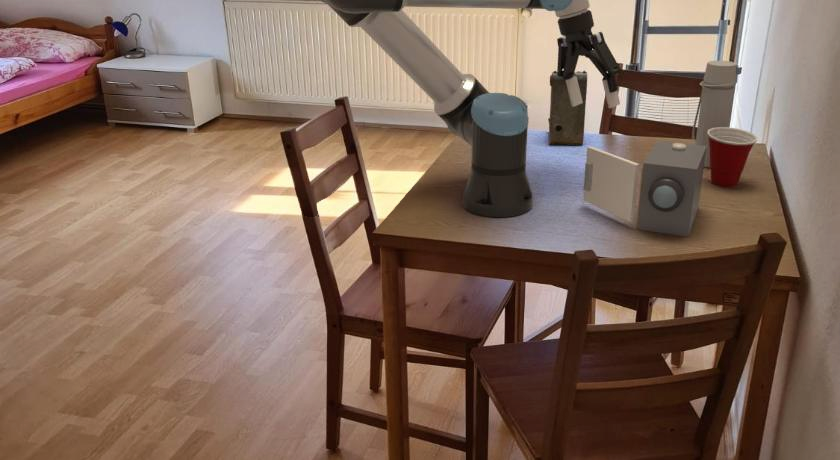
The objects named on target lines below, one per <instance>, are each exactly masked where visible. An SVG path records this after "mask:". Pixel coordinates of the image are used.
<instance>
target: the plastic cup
mask: <svg viewBox="0 0 840 460" xmlns="http://www.w3.org/2000/svg"><path fill="white" fill-rule="evenodd" d="M707 135H708V137H709V146H710V168H709V169H710V181H711V183H712V184H713V185H715V186H719V187H722V188H723V187H724V188H733V187H732V186H734V187H737V186H738V183H739V181H740V179H741V176H742V173H743V171H744V169H745V166H746V163H747V160H748V156H749V154H750V152H751V151H752V148H753V146H755V145H754V144H756V143H757V142H758V136H757V135H755V134H754V133H752V132H749V131H747V130H744V129H740V128H737V127H730V126H729V127H717V128H712V129H709V130H708V132H707Z"/></svg>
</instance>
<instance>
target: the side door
mask: <svg viewBox="0 0 840 460" xmlns="http://www.w3.org/2000/svg"><path fill="white" fill-rule="evenodd" d="M585 160H586V162H585V163H584V164H585V166H584V177H583V179H584V180H583V201H584V202H586V203H588V204H590V205H593V206H594V207H597V208H599V209H601V210H604V211H605V212H608V213H609V214H612V215H615V216H617V217H618V218H622V219H624V220H625V221H627V222H633V221H635V211H636V204H637V203H636V201H637V193H638V192H637V191H638V190H637V189H638V182H639V173H640V164H639V163H637V162H635V161H632V160H629V159H626V158H625V157H624V158H623V157H621V156H618V155H616V154H612V153H610V152H607V151H605V150H603V149H600V148H597V147H593V146H592V145H591V146H587V148H586V159H585Z"/></svg>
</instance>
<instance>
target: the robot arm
mask: <svg viewBox="0 0 840 460" xmlns="http://www.w3.org/2000/svg"><path fill="white" fill-rule="evenodd" d="M320 1H321V2H322V3H324V4H326V5H328V6H329V8H330V9H331V10H333V12H334V13H336V14H337V15H338V17H340V19H342V20H343V21H344V23H346V25H348V26H349V27H350V28H354V27H355V28H358V27H359V28H361V29H362V30H363V31H364V33H366V34H367V35H368V36H369V38H371V39H372V40H373V41H374V42H375V43H376V45H378V46H379V47H380V48H381V49H382V50H383V52H384V53H386V54H387V55H388V56H389V58H391V59H392V61H394V63H396V65H397V66H398V67H399V68H400V69H401V70H402V71H404V72H405V74H406V75H407V76H409V78H410V79H411V80H412V81H413V82H414V83H415V84H416V85H417V86H418V87H419V88H420V89H421V90H422V91H423V92H424V93H425V94H426V95H427V96H428V97H429V98H430V99H431V100H432V101H433V102H434V103H433V104H434V105H433V111H434V112H435V114H436V115H437V116H438V117H439V118H440V119H441V120H442V121H443V122H444V124H445V125H446V126H447V128H448V129H449V130H450V131H451V132H452V133H453V134H455V135H456V137H459V138H460V139H462V140H463V141H464V142H466V143H467V144H468V145H469V146H471V166H470V167H471V169H470V174H469V176H468V179H467V181H466V184H465V185H466V186H465V188H464V190H463V195H462V206H463V208H464V209H465V210H466V211H468V212H470V213H473V214H475V215H479V216H483V217H489V218H506V217H507V218H509V217H515V216H519V215H523V214H525V213H528V212H529V211H530V210H531V209H532V207H533V198H534V197H533V192H532V190H531V189H532V188H531V185H530V182H529V179H528V176H527V173H526V171H527V170H526V169H527V164H526V163H527V151H528V147H527V146H528V127H529V126H528V125H529V114H528V113H529V112H528V110H529V109H528V106H527V103H526V102H525V101H524V99H522V98H520V97H519V96H516V95H513V94H510V95H509V94H508V93H504V92H489V90H487V89H486V87H485V86H484V85H483V84H482V83H481V82H480V81H479V80H478V79H477V78H476V77H475V76H474V75H473V74H471V73H462V72H461V71H460V70H459V69H458V68H457V66H455V64H453V62H452V61H451V60H449V58H448V57H447V56H446V55H445V54H444V53H443V52H442V51H441V50H440V49H439V48H438V46H436V44H435V43H434V42H433V41H432V40H431V39H430V38H429V37H428V36H427V35H426V33H425V32H424V31H423V30H421V29H420V27H419V26H418V25H417V24H416V23H415V22H414V21H413V20H412V18H410V16H409V15H407V13H406V12H405V11H404V10H403V9H404V8H405V7H420V8H421V7H424V8H425V7H428V8H436V7H437V8H480V9H481V8H485V9H486V8H487V9H488V8H489V9H492V8H493V9H494V8H496V9H527V10H528V9H529V10H533V9H535V10H546V11H548V12H554V13H555V16H556V17H557V18H558V19H557V24H558V29H559V32H560V35H561V36H560V37H558V38H556V42H557V47H558V48H557V50H558V51H557V69H556V72H557V75H558V77H562V78H563V79H564V80H565V83H566V87H567V90H568V93H569V97H570V101H571V105H572V107H574V106H577V105H579V104H581V103H583V101H582V97H581V93H580V89H579V85H578V81H577V76H575V75H576V74H575V73H574V72H576V69H577V68H576V67H577V65H578V61H579V58H580V57H585V58H587V59H589V60H590V62H591V63H592V64H593V65H594V67H595V68H596V69H597V70H598V72H599V73H600V74H601V75H602V77H603V78H602V79H601V81H602V85H603V86H602V87H603V90H604V94H605V99H606V103H607V107H608V109H613V108H615V107H617V106H619V105H621V102H620V97H619V93H618V92H619V91H618V89H619V88H618V85H617V81H616V75H618V74H620V73H621V72H622V69H621V68H620V65H619V64H618V62H617V60H616V59H615V56H614V55H613V53H612V51H611V49H610V47H609V46H608V43H607V42H606V40H605V37H604V34H603V32H602V31H599V32H596V33H594V34H593V32H592V28H594V27H595V23H594V19H593V14H592V11H591V10H589V8H590V7H591V5H590V2H589V0H320ZM574 74H575V75H574ZM572 76H574V77H572Z"/></svg>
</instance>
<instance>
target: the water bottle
mask: <svg viewBox="0 0 840 460" xmlns="http://www.w3.org/2000/svg"><path fill="white" fill-rule="evenodd" d="M737 65H738V64H737V63H736V62H734V61H730V60H729V61H728V60H710V61H707V64H706V67H705V71H704V76H703V80H702V81H701V82H700V83H699V85H700V86H701V92H700V96H699V101H698V105H697V109H696V113H695V117H694V120H693V121H694V122H693V126H692V129H691V131H692V133H691V141H693V142H695V144H694V145H702V146H707V148H706V155H705V162H704V168H706V169H710V146H709V137H708V135H707V132H708V130H709V129H712V128H717V127H729V128H730V122H731V116H732V115H731V114H732V108H733V102H734V96H735V95H734V94H735V89H736V88H735V87H734V86H736V84H737ZM696 125H697V129H696ZM695 131H696V138H695Z"/></svg>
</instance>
